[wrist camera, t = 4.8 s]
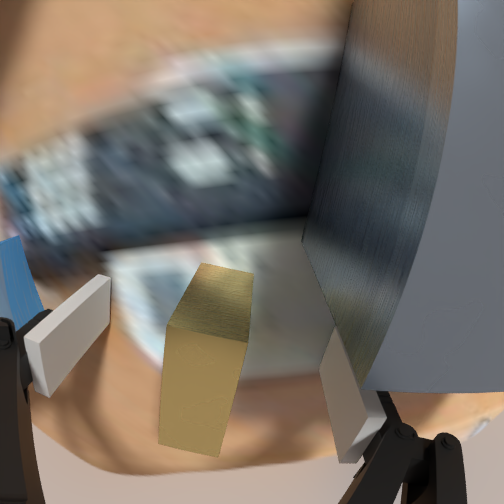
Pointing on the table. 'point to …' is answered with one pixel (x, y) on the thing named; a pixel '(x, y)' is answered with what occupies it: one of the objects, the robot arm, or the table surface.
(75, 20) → the table surface
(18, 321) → the perfume bottle
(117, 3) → the table surface
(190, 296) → the block
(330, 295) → the coin box
